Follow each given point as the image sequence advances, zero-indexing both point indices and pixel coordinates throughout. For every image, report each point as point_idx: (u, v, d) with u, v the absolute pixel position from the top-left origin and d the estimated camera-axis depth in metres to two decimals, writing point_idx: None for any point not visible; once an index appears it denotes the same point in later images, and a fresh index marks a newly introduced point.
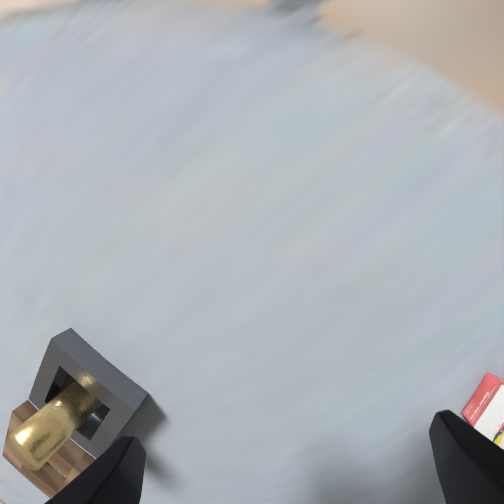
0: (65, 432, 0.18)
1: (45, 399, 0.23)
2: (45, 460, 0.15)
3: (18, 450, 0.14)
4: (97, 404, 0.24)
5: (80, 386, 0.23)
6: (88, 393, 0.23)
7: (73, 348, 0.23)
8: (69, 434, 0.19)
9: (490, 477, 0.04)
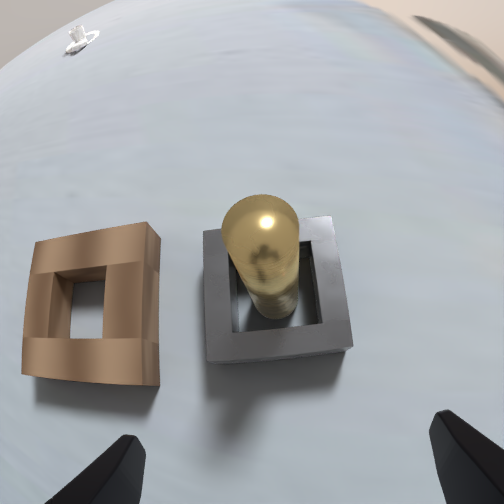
0: (289, 283, 0.16)
1: None
2: (273, 269, 0.13)
3: (257, 219, 0.13)
4: (286, 312, 0.21)
5: None
6: None
7: None
8: (280, 292, 0.17)
9: (490, 477, 0.04)
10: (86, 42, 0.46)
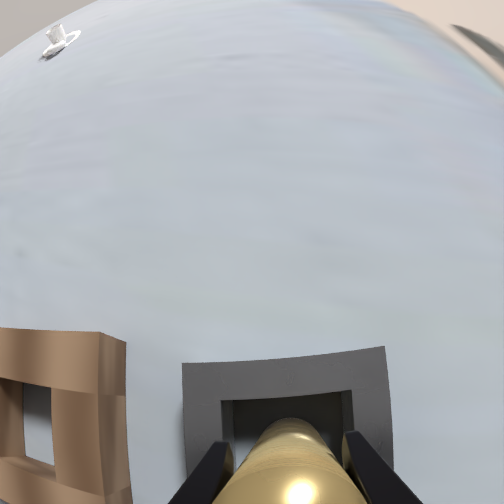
0: None
1: (226, 399, 0.13)
2: None
3: None
4: None
5: None
6: None
7: None
8: None
9: None
10: (64, 44, 0.38)
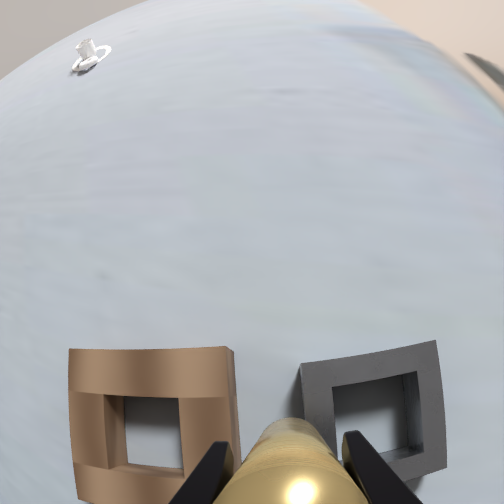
0: None
1: None
2: None
3: None
4: None
5: None
6: None
7: None
8: None
9: None
10: (96, 60, 0.42)
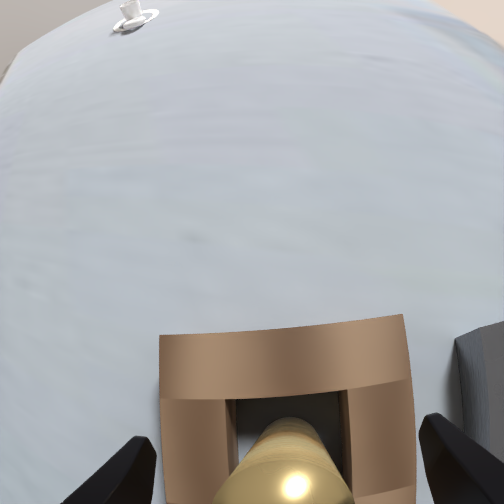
0: None
1: None
2: None
3: None
4: None
5: None
6: None
7: None
8: None
9: (478, 483, 0.04)
10: (144, 20, 0.37)
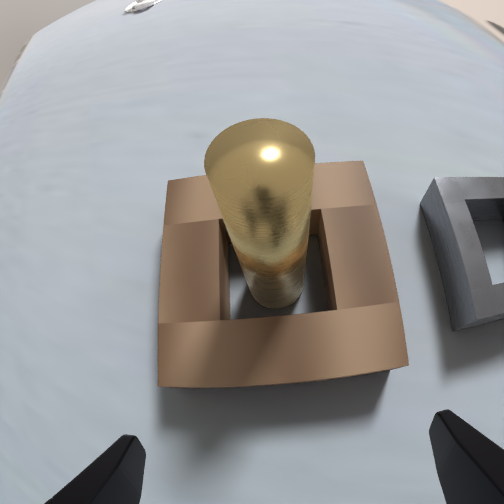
0: (296, 250, 0.12)
1: (466, 200, 0.17)
2: (277, 214, 0.09)
3: (255, 145, 0.09)
4: (289, 298, 0.17)
5: None
6: (304, 273, 0.17)
7: None
8: (285, 262, 0.12)
9: (490, 477, 0.04)
10: (153, 2, 0.41)
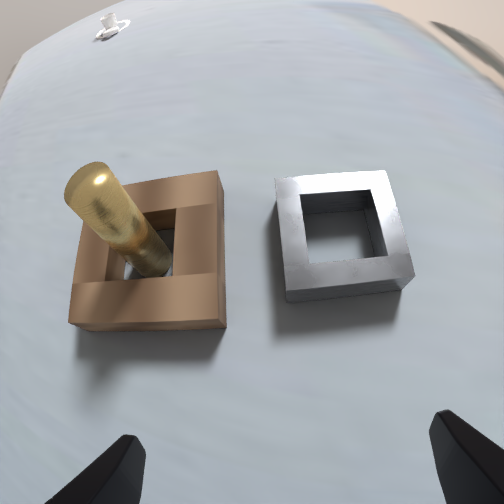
0: (126, 234, 0.19)
1: (302, 195, 0.24)
2: (92, 213, 0.16)
3: (86, 178, 0.16)
4: (153, 270, 0.24)
5: (162, 242, 0.25)
6: (162, 252, 0.24)
7: None
8: (122, 241, 0.20)
9: (490, 477, 0.04)
10: (118, 29, 0.49)
